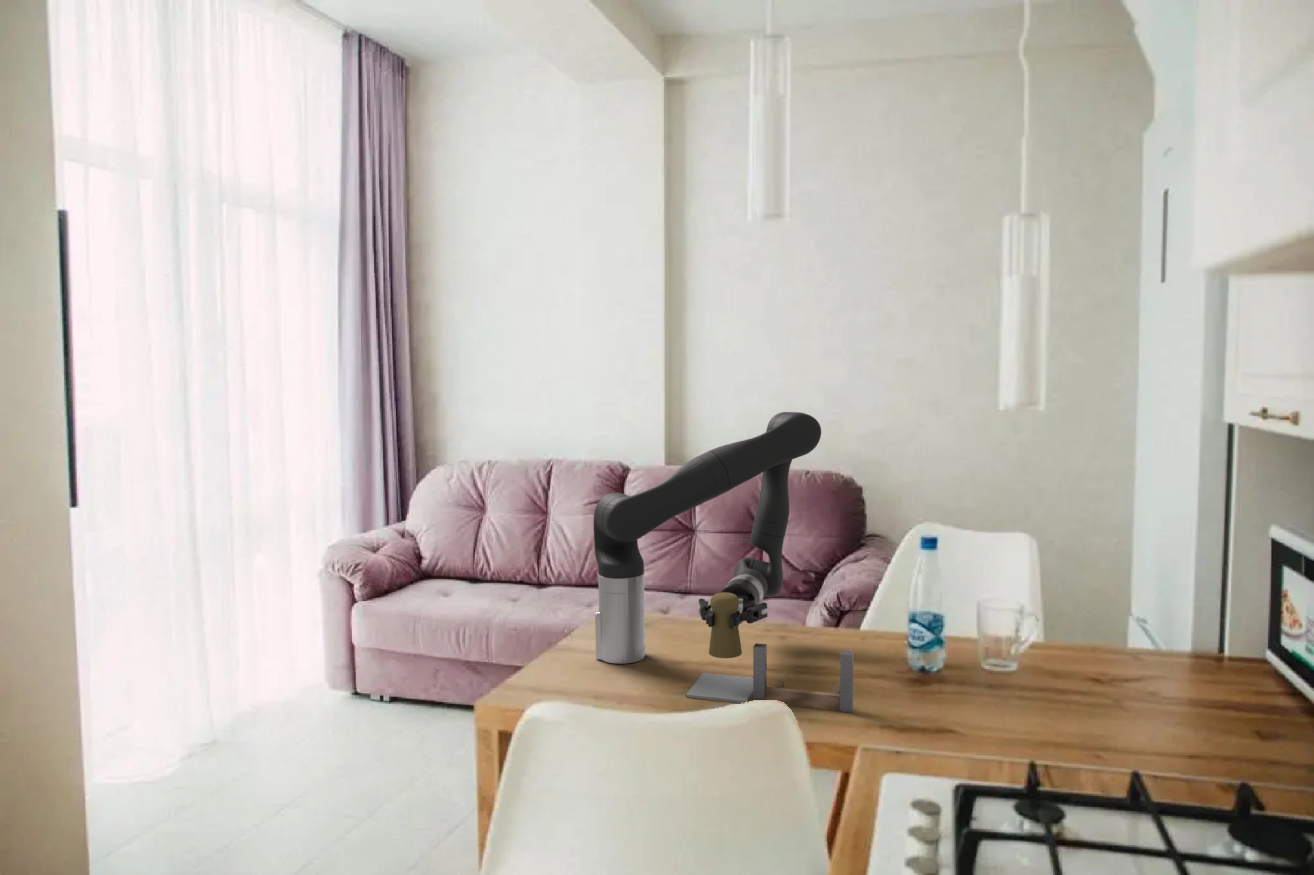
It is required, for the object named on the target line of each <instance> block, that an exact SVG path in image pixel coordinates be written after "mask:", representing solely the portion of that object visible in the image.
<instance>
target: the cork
mask: <svg viewBox="0 0 1314 875" xmlns="http://www.w3.org/2000/svg"><path fill="white" fill-rule="evenodd" d="M709 603H710V606H711V609H712V610H713V612H714V626H713V627H711V631H710V637H709V638H710V639H709V647H708V654H709V655H710V656H711V657H714V658H717V659H733V658H738V657H740V656H742V653H743V652H742V649H743V648H742V644H741V643H742V642H741V637H740V636H741V635H740V631H739V626H736V627H735V628H734V629H732V628H730V616H731V615H732V614H734V613H736V611H737V610H738V607H739V600H738V598H737V596H736V595H735V594H733V593H727V592H723V593H720V592H718V593H715V594H713V595H712V596H711V598H710V601H709Z"/></svg>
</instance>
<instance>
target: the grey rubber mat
mask: <svg viewBox="0 0 1314 875" xmlns="http://www.w3.org/2000/svg"><path fill="white" fill-rule="evenodd" d="M752 696H753V676H741V675H730V674H729V675H728V674H718V673H708V672H702V673H701V675H700V676H699V677H698V678H697V680H696V681H695V682H694V683H693V685H691V687H690V689H689V691H687V693H686V694H685V698H688V699H697V700H698V699H699V700H706V701H707V700H709V701H718V702H725V703H726V702H727V703H737V704H741V703H740V702H746V701H748V702H749V700H750V699H751V697H752ZM732 701H733V702H732Z"/></svg>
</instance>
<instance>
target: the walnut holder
mask: <svg viewBox="0 0 1314 875" xmlns="http://www.w3.org/2000/svg"><path fill="white" fill-rule="evenodd" d="M752 647H753V648H752V650H753V651H752V656H753V657H752V658H753V659H752V666H753V667H752V670H753V671H752V674H753V675H752V678H753V694H752V696H753V697H752V698H753V700H778V701H781V702H784V703H785V704H788V705H787V706H791V705H792V707H800V706H802V707H803V706H804V707H803V708H810V707H812V709H819V710H829V709H833V710H832V711H838V710H839V712H842V713H851V714H852V713H853V710H854V651H851V650H849V651H848V650H841V652H840V655H839V656H840V657H839V660H840V661H839V662H840V664H839V667H840V668H839V669H840V672H839V677H840V679H839V685H833V688H832V690H831V692H824V691H813V690H806V689H805V690H804V689H793V688H785V680H781V679H778V680H777V681H776V683H775V684H774V686H768V679H767V678H768V676H767V674H768V671H767V670H768V665H767V664H768V663H767V662H768V659H767V658H768V656H767V655H768V654H767V652H768V649H767V648H768V645H767V643H757V642H756V643H755V644H754V645H753V646H752ZM753 700H752V701H753ZM802 707H801V708H802Z"/></svg>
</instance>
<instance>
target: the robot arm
mask: <svg viewBox="0 0 1314 875" xmlns="http://www.w3.org/2000/svg"><path fill="white" fill-rule="evenodd" d="M821 436H822V427H821V424H820V423H819V421H818V420H817V419H816V418H815V417H814V416H812V415H811V414H807V413H805V412H799V411H781V412H779V413H777V414H775V415H773V416H772V417H771V418H770V420H769V422H768V424H767V426H766V431H765V432H764V433H762V434H760V435H756V436H754V437H751V438H748V439H744V440H739V441H735V442H732V443H728V444H725V445H720V446H717V447H715V448H712V449H710V450H708V451H706V452H704V453H702V454H699V455H698V456H695V457H693V458H691V459H690V460H689V461H686V462H685V463H684V464H682V465H681V466H680V467H679V468H678V469H677V470H676V471H674V472H673V473H672V474H671V475H670V476H669V477H668V478H667V479H666V480H664V481H663V482H661V483H660V484H657V485H655V486H653V487H651V488H649V489H646V490H644V491H642V492H638V493H636V494H633V495H627V494H625V493H621V492H610V493H607V494H605V495H603V497H601V499H600V500H599V501H598V502H597V504H596V505H595V508H594V513H593V540H594V556H595V560H596V564H597V568H598V569H597V571H598V572H597V574H598V610H597V611H596V612H595V616H594V617H595V619H594V620H595V626H594V627H595V659H596V660H599V661H600V660H601V661H603V662H606V663H608V664H609V663H610V664H616V665H617V664H620V665H623V664H632V663H636V662H640V661H642V660H643V659H645V657H646V642H645V640H646V639H645V638H646V635H645V634H646V631H645V630H646V626H645V625H646V624H645V621H646V619H645V615H646V614H645V613H646V612H645V611H646V610H645V560H644V559H643V557H642V554H641V552H640V549H639V544H638V543H639V542H638V540H639V539H641V538H643V537H644V536H646V535H648V534H649V533H651V532H652V531H653V530H655V529H657V528H658V527H660V526H662V525H663V524H664V523H666V522H667V521H669V520H671V519H673V518H674V517H676V516H678V515H680V514H682V513H685V512H687V511H690V510H693V509H694V508H696V507H698V506H700V505H702V504H705V503H706V502H708V501H710V500H711V501H712V500H713V499H715V498H717V497H720V496H722V495H723V494H726V493H727V492H729V491H731V490H733V489H734V488H737V487H739V486H740V485H742V484H743V483H746V482H748V481H750V480H751V479H753V478H755V477H757V476H758V475H760V474H762V476H761V484H760V485H761V486H760V491H759V497H758V504H757V508H756V513H755V516H754V520H753V523H752V524H753V525H752V529H751V534H750V538H749V542H750V544H751V545H752V546H753V547H754V548H757V549H758V550H761V551H763V552H764V553H766V554H767V556H768V558H769V562H768V561H764V560H762V559H761V560H760V559H756V558H753V557H743V558H740V559H739V560H738V561H737V563H736V564H735V567H734V570H733V578H732V579H731V580H729V581H728V583H726V585H725V586H724V587H723V588H722V589H721V590H720V592H719V593H723V592H727V593H733V594H735V595H736V596H737V598H738V600H739V607H738V610H737V611H736V613H734V614H732V615H731V616H730V628H732V629H734V628H735V627H736V626H738V627H739V626H740V625H742V624H743V623H744V622H746V623H747V624H754V623H756V622H759V621H761V620H763V619H765V618H767V617H768V602H763V600H764V598H765V597H767V598H772V597H776V596H777V595H778V594H779V593H780V591H781V590H782V587H783V584H784V574H783V573H784V572H783V547H784V540H785V536H786V534H787V533H786V532H787V529H788V528H787V526H788V524H789V517H790V495H789V473H790V468H791V465H792V461H793V460H795V459H798V458H800V457H804V456H806V455H809V454H810V452H812V451H813V450H814V449H816V447H817V446H818V444H819V443H820V440H821ZM698 614H699V616H700V618H701V620H702V621H705V624H706V625H707V626H708V628H712V627H713V626H714V612H713V610H712V609H711V606H710V602H709V601H708V600H706V599H705V598H699V599H698Z"/></svg>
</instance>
